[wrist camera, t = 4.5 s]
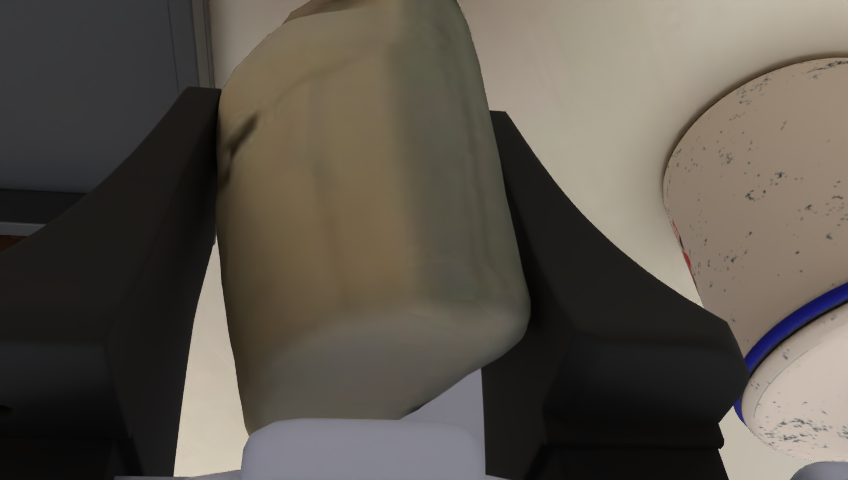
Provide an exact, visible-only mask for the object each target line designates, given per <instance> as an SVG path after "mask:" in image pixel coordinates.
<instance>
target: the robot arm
mask: <svg viewBox="0 0 848 480" xmlns="http://www.w3.org/2000/svg"><path fill="white" fill-rule="evenodd" d="M221 93H222V91H221V89H217V88H205V87H192V86H188V87H187V88H186V89H185V90H183V91H182V93H181V94H180V95H179V97H178V98H177V100H176V101H175V102H174V103H173V105H172V106H171V107H170V109H169V110H168V111H167V113H166V114H165V115H164V116H163V117H162V119H161V120H160V121H159V122H158V124H157V125H156V126H155V127H154V128H153V130H152V131H151V132H150V133H149V134H148V135H147V136H146V137H145V138H144V140H143V141H142V142H141V143H140V144H139V145H138V146H137V147H136V149H135V150H134V151H133V152H132V153H131V154H130V155H129V156H128V157H127V158H126V159H125V160H124V161H123V162H122V163H121V164H120V165H119V166H118V167H117V168H116V169H115V170H114V171H113V172H112V173H111V174H110V175H109V176H108V177H107V178H105V179H104V180H103V181H102V182H101V183H100V184H99V185H98V186H97V187H95V188H94V189H93V190H92V191H91V192H90V193H88V194H87V195H86V196H85V197H83V198H82V199H81V200H80V201H78V202H77V203H76V204H75V205H73V206H72V207H71V208H70V209H68V210H67V211H65V212H64V213H63V214H61V215H60V216H58V217H57V218H56V219H54V220H53V221H51V222H50V223H48V224H47V225H45V226H44V227H42V228H41V229H39V230H38V231H36V232H35V233H33V234H31V235H30V236H28V237H27V238H25V239H23V240H21V241H20V242H18V243H16V244H15V245H13V246H11V247H9V248H8V249H6V250H4V251H2V252H0V480H729V479H728V476H727V473H726V471H725V468H724V465H723V462H722V459H721V456H720V454H719V451H718V449H721V448H722V447H723V445H724V438H723V435H722V433H721V430H720V427H719V424H718V423H719V422H720V421H721V420H722V418H723V417H724V416H725V415H726V413H727V412H728V411H729V410H730V409H731V407H732V406H733V405H734V404H735V402H736V401H737V400H738V399H739V398H740V396H741V395H742V393H743V391H744V390H745V388H746V386H747V385H748V382H749V370H748V367H747V365H746V363H745V360H744V358H743V355H742V352H741V350H740V347H739V345H738V342H737V340H736V338H735V336H734V334H733V332H732V330H731V328H730V326H729V324H728V323H727V321H725V320H723V319H721V318H720V317H718V316H716V315H714V314H713V313H711V312H709V311H707V310H706V309H704V308H702V307H701V306H699V305H697V304H695V303H694V302H692V301H690V300H688V299H687V298H685V297H684V296H682V295H680V294H679V293H677V292H676V291H674V290H673V289H672V288H670V287H669V286H667V285H666V284H664V283H663V282H661V281H660V280H658V279H657V278H656V277H654V276H653V275H651V274H650V273H649V272H647V271H646V270H645V269H643V268H642V267H641V266H639V265H638V264H637V263H636V262H635V261H633V260H632V259H631V258H630V257H628V256H627V255H626V254H625V253H623V252H622V251H621V250H620V249H619V248H618V247H616V246H615V245H614V244H613V243H612V242H611V241H610V240H609V239H607V238H606V237H605V236H604V235H603V234H602V233H601V232H600V231H599V230H598V229H597V228H596V227H595V226H594V225H593V224H592V223H591V222H590V221H589V220H588V219H587V218H586V217H585V216H584V215H583V214H582V213H581V212H580V211H579V210H578V208H577V207H576V206H575V205H574V204H573V203H572V202H571V200H570V199H569V198H568V197H567V196H566V195H565V193H564V192H563V191H562V190H561V189H560V187H559V186H558V185H557V184H556V182H555V181H554V180H553V178H552V177H551V176H550V174H549V173H548V172H547V170H546V169H545V168H544V166H543V165H542V164H541V162H540V161H539V159H538V158H537V157H536V155H535V154H534V152H533V151H532V150H531V148H530V147H529V145H528V144H527V142H526V141H525V139H524V138H523V136H522V135H521V133H520V132H519V130H518V129H517V127H516V126H515V124H514V123H513V121H512V120H511V118H510V117H509V116H508V114H507V113H506V112H505V111H492V110H489V112H490V117H491V122H492V126H493V131H494V135H495V139H496V144H497V148H498V152H499V157H500V162H501V168H502V174H503V181H504V187H505V193H506V198H507V202H508V206H509V210H510V214H511V219H512V224H513V228H514V232H515V237H516V241H517V245H518V250H519V255H520V260H521V264H522V269H523V273H524V276H525V280H526V283H527V287H528V291H529V295H530V299H531V317H530V320H529V323H528V326H527V329H526V332H525V334H524V336H523V338H522V339H521V340H520V341H519V342H518V343H517V344H516V345H515V346H514V347H512V348H511V349H510V350H509V351H508V352H506V353H505V354H504V355H503V356H501V357H500V358H498V359H496V360H494V361H493V362H491V363H489V364H487V365H485V366H484V367H482V368H480V369H479V370H477V371H475V372H473V373H471V374H469V375H467V376H466V377H465V378H463V379H462V380H461V381H459V382H458V383H457V384H455V385H454V386H452V387H451V388H450V389H448V390H447V391H445V392H444V393H442V394H441V395H440V396H438V397H437V398H435V399H433V400H432V401H430V402H429V403H427V404H425V405H424V406H422V407H421V408H420V409H419V410H417V411H415V412H413V413H411V414H409V415H407V416H405V417H403V418H402V419H400V420H375V419H329V418H299V419H290V420H282V421H276V422H273V423H271V424H269V425H267V426H265V427H263V428H261V429H259V430H257V431H255V432H254V433H252V434H251V435H250V437H249V439H248V441H247V443H246V445H245V447H244V449H243V457H242V465H241V470H235V471H228V472H222V473H215V474H209V475H203V476H196V477H173V475H174V465H175V456H176V448H177V440H178V432H179V423H180V415H181V407H182V400H183V392H184V385H185V378H186V370H187V363H188V356H189V349H190V343H191V336H192V329H193V323H194V318H195V313H196V309H197V304H198V300H199V296H200V293H201V289H202V285H203V281H204V278H205V274H206V270H207V266H208V263H209V259H210V255H211V251H212V248H213V244H214V240H215V236H216V222H215V200H216V194H217V187H218V171H217V159H216V124H217V117H218V108H219V101H220V96H221ZM790 480H848V462H835V461H824V462H816V463H812V464H809V465H806V466H804V467H803V468H801V469H799V470H798V471H797V472H796V473H795V474H794V475H793V477H792V478H791V479H790Z"/></svg>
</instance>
